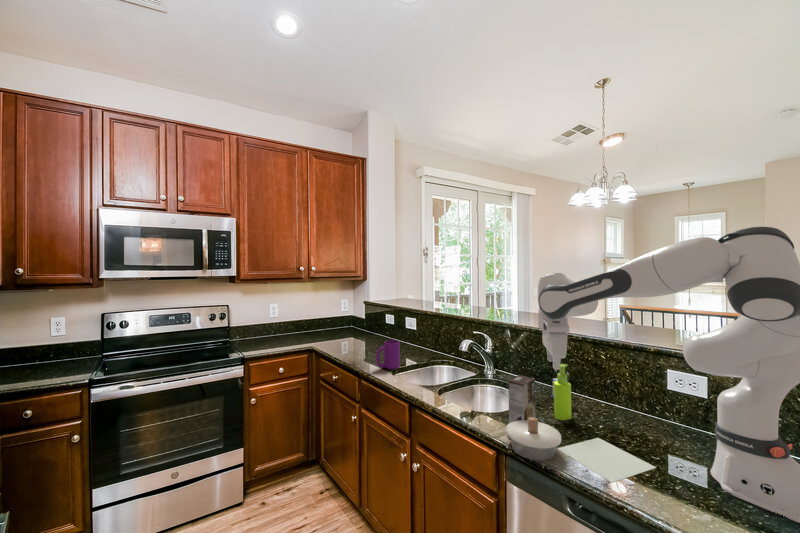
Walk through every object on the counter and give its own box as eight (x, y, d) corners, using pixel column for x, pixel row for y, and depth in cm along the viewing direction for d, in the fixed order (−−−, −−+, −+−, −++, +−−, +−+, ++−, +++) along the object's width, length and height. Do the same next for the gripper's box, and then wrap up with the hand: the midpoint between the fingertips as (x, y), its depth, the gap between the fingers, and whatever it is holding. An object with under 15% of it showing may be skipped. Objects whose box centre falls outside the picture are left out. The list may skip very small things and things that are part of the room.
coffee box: (519, 416, 128) (519, 374, 128) (535, 421, 124) (535, 378, 124) (508, 424, 122) (507, 380, 122) (525, 430, 117) (524, 384, 117)
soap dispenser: (574, 416, 128) (573, 364, 128) (568, 422, 123) (568, 368, 123) (558, 412, 132) (557, 361, 132) (552, 417, 127) (551, 365, 127)
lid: (572, 438, 102) (571, 422, 102) (540, 454, 93) (540, 436, 93) (527, 419, 115) (526, 404, 115) (495, 431, 107) (495, 416, 107)
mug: (403, 367, 194) (402, 341, 194) (381, 372, 184) (381, 345, 184) (393, 364, 201) (393, 339, 201) (372, 369, 191) (372, 343, 191)
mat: (656, 469, 94) (656, 467, 94) (611, 484, 87) (611, 482, 87) (598, 439, 110) (598, 437, 110) (557, 450, 104) (556, 448, 104)
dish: (550, 441, 110) (550, 425, 110) (564, 465, 96) (564, 448, 96) (505, 438, 112) (505, 423, 112) (512, 461, 98) (512, 444, 98)
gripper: (537, 318, 120) (538, 356, 119) (547, 327, 100) (548, 373, 100) (556, 318, 118) (557, 357, 118) (570, 328, 98) (571, 375, 98)
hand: (553, 365), depth 108 cm, fingers open, 8 cm apart
